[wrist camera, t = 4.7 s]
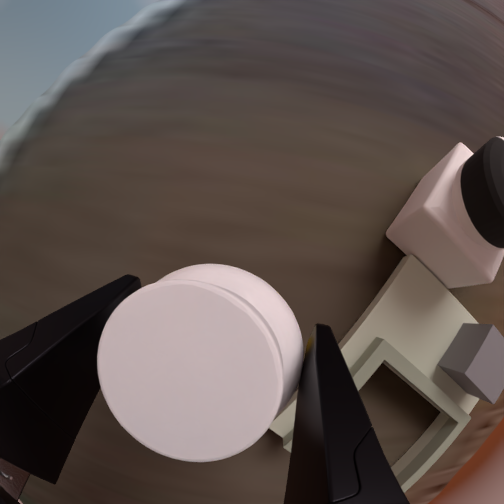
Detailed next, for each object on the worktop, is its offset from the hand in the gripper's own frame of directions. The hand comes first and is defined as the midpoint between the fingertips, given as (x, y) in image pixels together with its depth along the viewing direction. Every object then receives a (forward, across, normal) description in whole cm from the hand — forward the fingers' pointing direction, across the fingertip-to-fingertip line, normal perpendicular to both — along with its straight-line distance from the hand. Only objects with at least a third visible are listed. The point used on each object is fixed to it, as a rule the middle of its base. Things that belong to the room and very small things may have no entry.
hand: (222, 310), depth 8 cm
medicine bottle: (+16, -14, +3) cm, 21 cm away
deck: (+6, -13, +12) cm, 19 cm away
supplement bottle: (+4, 0, +6) cm, 7 cm away
